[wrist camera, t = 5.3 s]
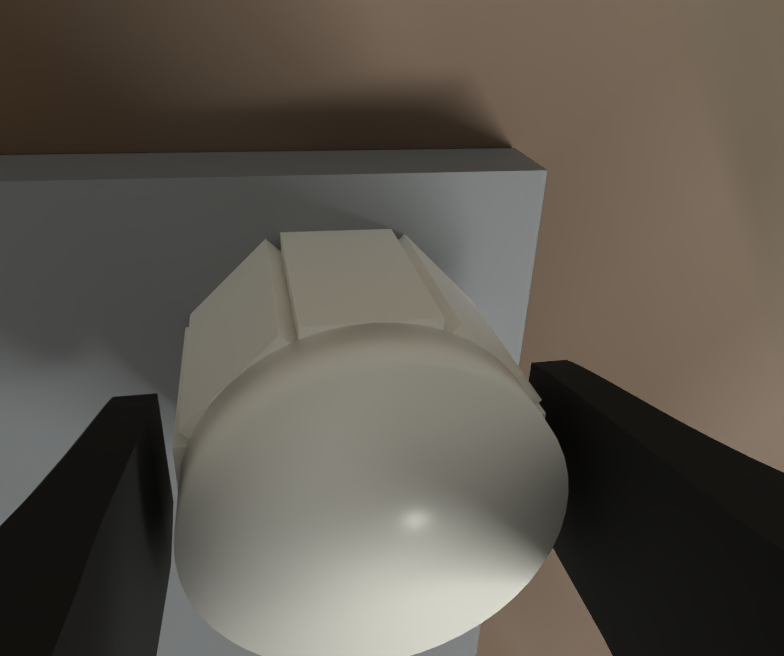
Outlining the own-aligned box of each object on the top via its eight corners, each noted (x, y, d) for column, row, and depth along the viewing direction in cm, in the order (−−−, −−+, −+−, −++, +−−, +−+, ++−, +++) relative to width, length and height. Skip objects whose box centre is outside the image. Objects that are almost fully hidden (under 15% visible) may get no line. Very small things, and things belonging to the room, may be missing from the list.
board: (-73, 709, 16) (-163, 939, 12) (-325, 159, 10) (-662, 285, 6) (456, 624, 19) (514, 794, 15) (514, 148, 13) (638, 230, 9)
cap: (203, 486, 13) (194, 693, 9) (174, 235, 10) (148, 383, 7) (457, 459, 14) (538, 637, 10) (483, 225, 12) (600, 349, 8)
